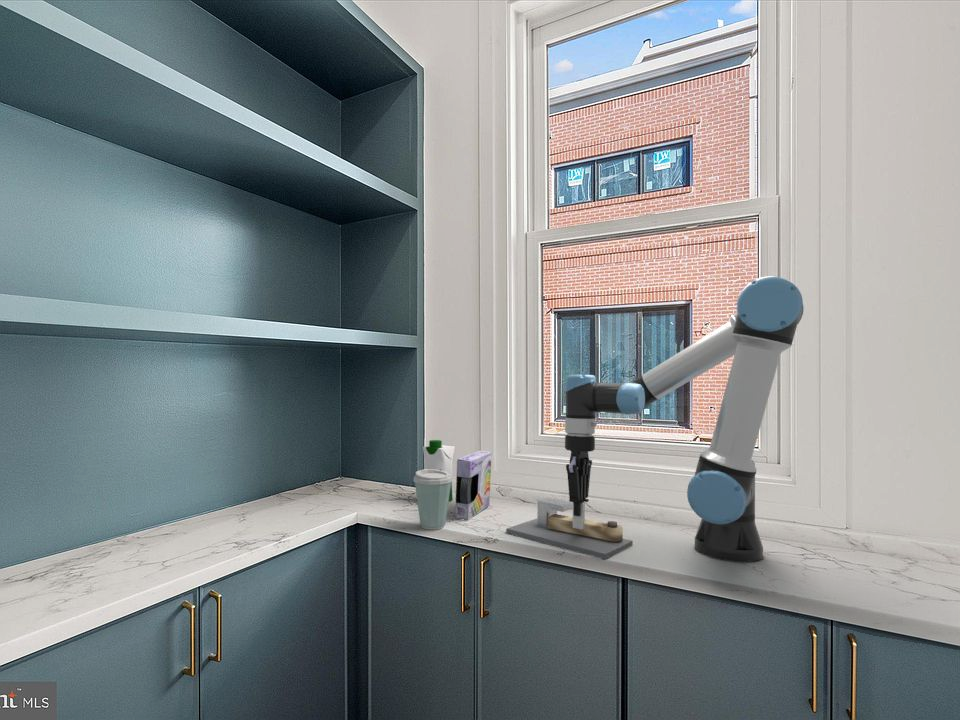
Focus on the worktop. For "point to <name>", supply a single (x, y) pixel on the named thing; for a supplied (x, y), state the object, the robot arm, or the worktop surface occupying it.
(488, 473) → the cake pan box
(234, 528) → the worktop surface
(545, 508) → the block
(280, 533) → the worktop surface
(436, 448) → the milk carton
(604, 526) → the brass link
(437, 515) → the disposable coffee cup
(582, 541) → the board
